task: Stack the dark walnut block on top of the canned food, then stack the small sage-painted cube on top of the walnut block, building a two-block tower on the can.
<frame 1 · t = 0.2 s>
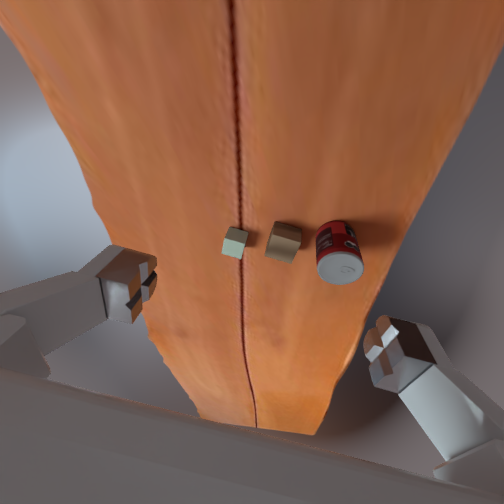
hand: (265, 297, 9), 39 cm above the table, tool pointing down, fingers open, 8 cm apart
sage cube: (237, 236, 57), on the table
canned food: (334, 234, 52), on the table
walnut block: (283, 235, 54), on the table
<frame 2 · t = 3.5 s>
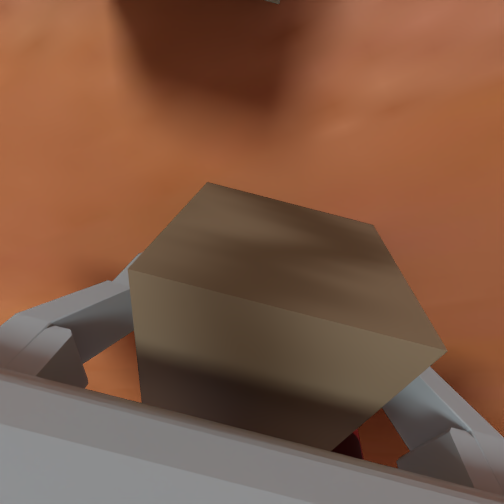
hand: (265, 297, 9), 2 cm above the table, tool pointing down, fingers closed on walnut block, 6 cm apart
canned food: (290, 396, 16), on the table
walnut block: (269, 268, 10), on the table, touching gripper
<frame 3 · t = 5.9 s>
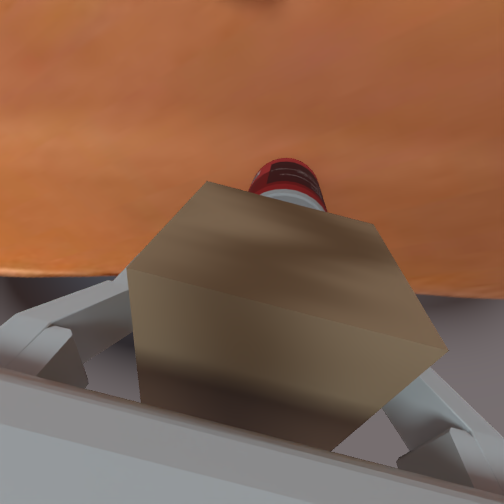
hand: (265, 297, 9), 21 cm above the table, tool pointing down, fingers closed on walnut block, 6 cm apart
canned food: (284, 191, 28), on the table
walnut block: (268, 268, 10), point 19 cm above the table, touching gripper
when the fingers open (14 cm above the table, at t = 8.4 s): walnut block stays where it is, resting on canned food.
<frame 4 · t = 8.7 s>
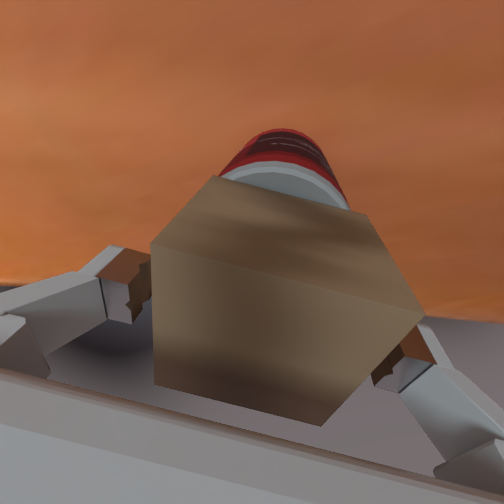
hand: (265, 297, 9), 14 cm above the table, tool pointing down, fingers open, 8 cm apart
canned food: (279, 180, 20), on the table, touching walnut block
walnut block: (270, 257, 11), point 11 cm above the table, touching canned food
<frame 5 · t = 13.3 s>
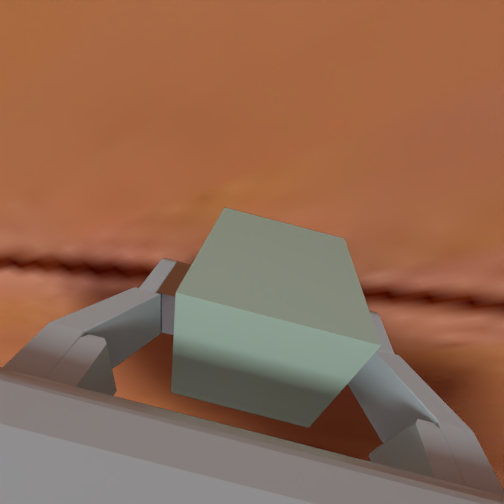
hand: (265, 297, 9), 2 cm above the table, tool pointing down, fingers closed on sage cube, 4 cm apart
sage cube: (269, 269, 10), on the table, touching gripper
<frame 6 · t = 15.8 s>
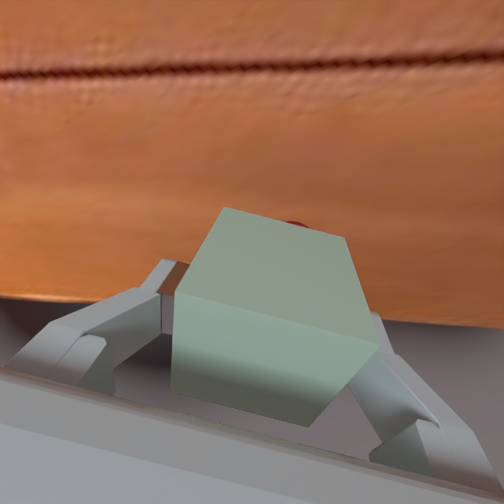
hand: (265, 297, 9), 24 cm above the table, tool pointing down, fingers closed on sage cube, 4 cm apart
sage cube: (268, 269, 10), point 22 cm above the table, touching gripper
when the fingers open (18 cm above the table, at t = 18.3 s): sage cube stays where it is, resting on walnut block.
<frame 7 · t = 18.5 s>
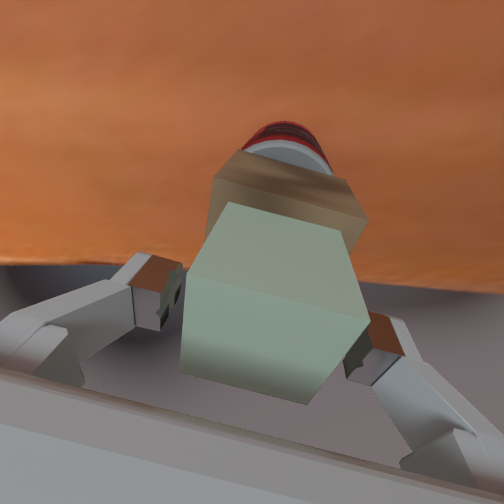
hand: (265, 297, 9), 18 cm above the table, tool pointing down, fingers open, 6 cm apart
sage cube: (269, 261, 11), point 16 cm above the table, touching walnut block
canned food: (281, 165, 24), on the table, touching walnut block
walnut block: (276, 213, 15), point 11 cm above the table, touching canned food, sage cube
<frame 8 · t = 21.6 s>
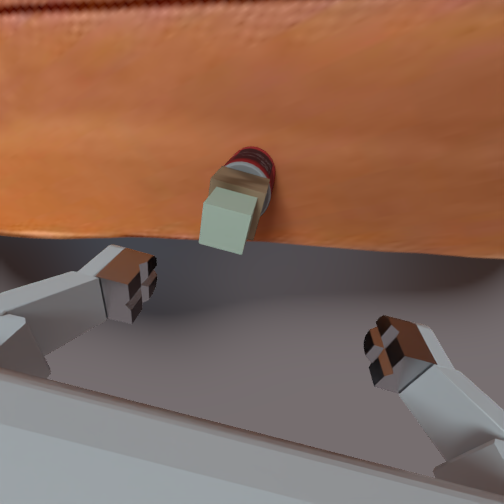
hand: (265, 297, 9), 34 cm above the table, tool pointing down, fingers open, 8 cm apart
sage cube: (233, 211, 27), point 16 cm above the table, touching walnut block
canned food: (252, 170, 40), on the table, touching walnut block
walnut block: (241, 195, 31), point 11 cm above the table, touching canned food, sage cube
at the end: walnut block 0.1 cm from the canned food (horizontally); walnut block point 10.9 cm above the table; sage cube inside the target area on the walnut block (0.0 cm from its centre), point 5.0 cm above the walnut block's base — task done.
